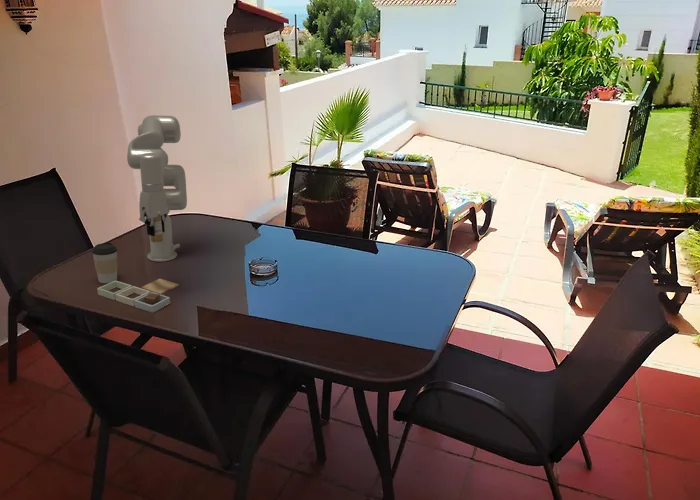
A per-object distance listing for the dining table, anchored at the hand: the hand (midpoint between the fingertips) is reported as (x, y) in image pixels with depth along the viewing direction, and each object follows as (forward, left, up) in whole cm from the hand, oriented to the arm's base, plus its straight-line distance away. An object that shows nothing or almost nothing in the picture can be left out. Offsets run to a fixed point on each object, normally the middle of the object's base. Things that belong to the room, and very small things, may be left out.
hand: (156, 232), depth 198 cm
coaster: (0, 0, -23) cm, 23 cm away
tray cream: (+13, 0, -23) cm, 26 cm away
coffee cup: (+6, -22, -23) cm, 32 cm away
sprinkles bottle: (0, 0, -4) cm, 4 cm away
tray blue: (+13, +9, -23) cm, 28 cm away
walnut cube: (+13, +9, -23) cm, 28 cm away
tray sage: (+13, -10, -23) cm, 28 cm away
